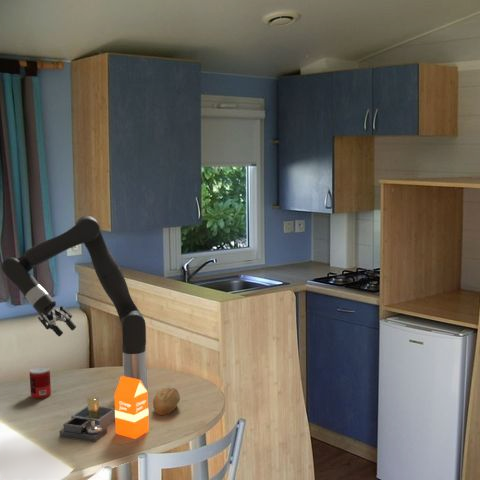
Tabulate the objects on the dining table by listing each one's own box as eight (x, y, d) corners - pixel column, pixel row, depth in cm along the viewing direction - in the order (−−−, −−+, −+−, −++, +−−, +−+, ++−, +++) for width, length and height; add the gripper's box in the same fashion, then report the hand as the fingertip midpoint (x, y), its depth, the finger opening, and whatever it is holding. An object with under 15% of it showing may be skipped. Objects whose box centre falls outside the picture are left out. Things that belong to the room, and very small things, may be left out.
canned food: (54, 393, 292) (53, 367, 291) (43, 400, 285) (42, 373, 283) (38, 391, 295) (37, 365, 293) (27, 398, 287) (25, 371, 286)
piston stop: (92, 417, 265) (91, 396, 263) (101, 418, 263) (100, 397, 262) (86, 421, 261) (85, 400, 260) (95, 422, 260) (94, 401, 258)
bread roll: (183, 402, 281) (182, 382, 280) (175, 417, 266) (175, 396, 265) (159, 401, 282) (158, 382, 281) (150, 416, 267) (149, 396, 266)
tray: (89, 415, 269) (88, 404, 269) (116, 418, 265) (115, 408, 265) (71, 426, 259) (71, 416, 258) (99, 431, 255) (99, 420, 254)
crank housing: (72, 427, 258) (71, 411, 257) (106, 432, 253) (106, 416, 252) (59, 436, 251) (58, 419, 250) (94, 442, 246) (93, 424, 245)
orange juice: (134, 439, 248) (132, 383, 245) (115, 433, 253) (113, 378, 250) (149, 431, 255) (147, 376, 252) (130, 425, 259) (128, 372, 256)
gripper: (34, 297, 264) (62, 330, 262) (57, 289, 277) (84, 320, 275) (23, 310, 267) (51, 343, 265) (46, 301, 280) (73, 333, 278)
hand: (67, 331), depth 270 cm, fingers open, 8 cm apart
